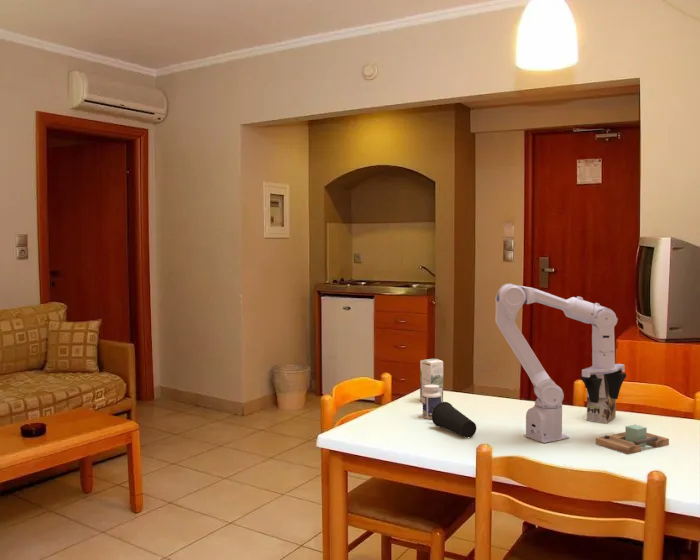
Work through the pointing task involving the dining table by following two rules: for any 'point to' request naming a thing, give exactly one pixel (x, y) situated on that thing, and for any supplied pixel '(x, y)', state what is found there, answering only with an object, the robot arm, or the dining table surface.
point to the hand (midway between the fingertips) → (604, 400)
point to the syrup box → (431, 375)
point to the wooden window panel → (628, 447)
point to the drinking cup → (452, 420)
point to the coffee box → (601, 404)
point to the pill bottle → (430, 399)
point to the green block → (635, 433)
